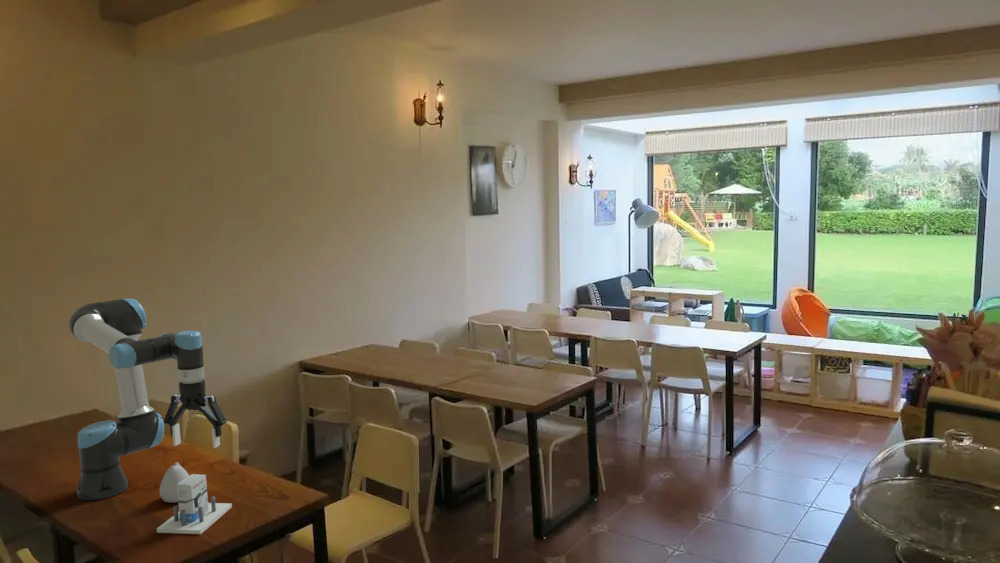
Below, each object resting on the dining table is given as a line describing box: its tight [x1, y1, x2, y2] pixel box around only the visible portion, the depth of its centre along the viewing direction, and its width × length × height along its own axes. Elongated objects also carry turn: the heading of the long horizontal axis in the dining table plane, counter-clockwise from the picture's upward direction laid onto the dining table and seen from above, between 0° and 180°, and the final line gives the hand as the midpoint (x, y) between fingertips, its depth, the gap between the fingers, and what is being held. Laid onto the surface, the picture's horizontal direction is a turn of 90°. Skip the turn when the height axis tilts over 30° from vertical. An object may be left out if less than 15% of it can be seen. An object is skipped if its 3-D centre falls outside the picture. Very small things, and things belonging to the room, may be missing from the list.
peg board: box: [156, 495, 233, 535], centre depth 214 cm, size 14×18×6 cm
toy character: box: [158, 461, 190, 504], centre depth 229 cm, size 10×10×12 cm
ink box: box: [177, 473, 209, 522], centre depth 213 cm, size 8×5×12 cm, turn 172°
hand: (196, 445), depth 220 cm, fingers open, 13 cm apart
